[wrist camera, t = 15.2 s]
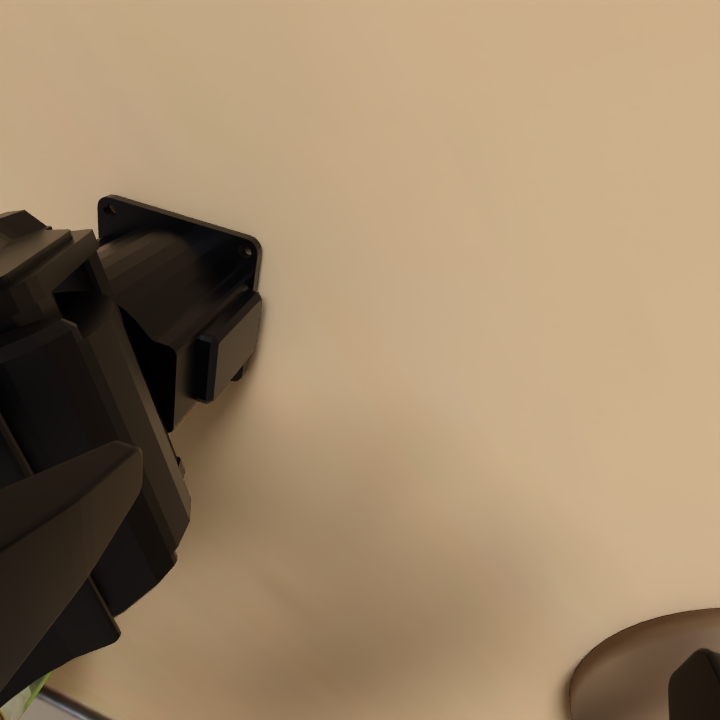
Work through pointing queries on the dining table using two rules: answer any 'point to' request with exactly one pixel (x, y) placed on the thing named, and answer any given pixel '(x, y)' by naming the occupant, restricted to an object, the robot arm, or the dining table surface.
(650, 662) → the disc
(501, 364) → the dining table surface
